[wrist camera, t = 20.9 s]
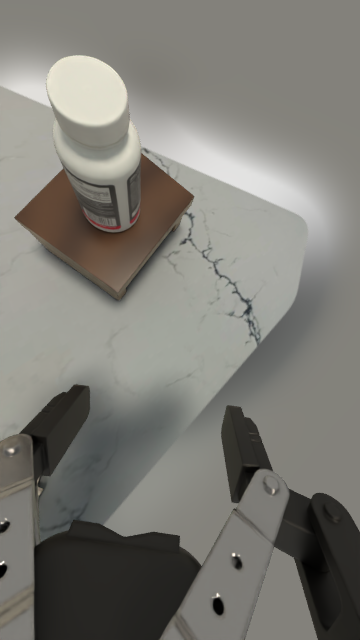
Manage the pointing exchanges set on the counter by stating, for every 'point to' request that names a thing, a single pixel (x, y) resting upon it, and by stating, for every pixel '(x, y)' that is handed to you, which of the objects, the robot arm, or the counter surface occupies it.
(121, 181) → the pill bottle
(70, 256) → the stand
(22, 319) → the counter surface
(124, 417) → the counter surface
